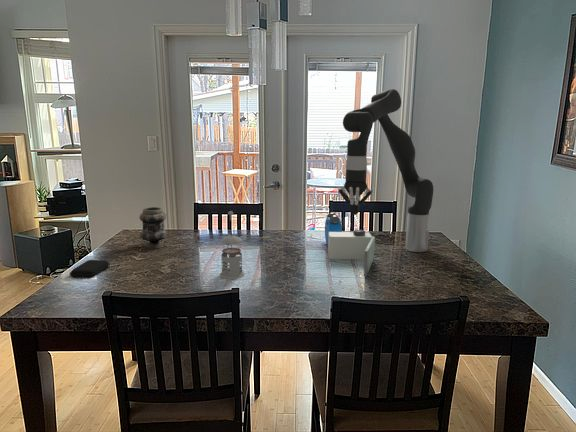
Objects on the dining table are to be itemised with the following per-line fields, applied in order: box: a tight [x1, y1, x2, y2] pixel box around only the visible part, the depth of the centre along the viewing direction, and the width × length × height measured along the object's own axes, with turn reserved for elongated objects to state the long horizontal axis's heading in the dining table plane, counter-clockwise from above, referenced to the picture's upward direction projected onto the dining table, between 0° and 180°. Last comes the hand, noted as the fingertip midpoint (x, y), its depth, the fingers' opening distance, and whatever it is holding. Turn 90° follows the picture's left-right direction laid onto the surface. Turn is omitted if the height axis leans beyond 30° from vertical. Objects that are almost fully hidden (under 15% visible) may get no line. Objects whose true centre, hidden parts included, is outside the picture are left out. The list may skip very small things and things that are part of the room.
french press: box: [219, 210, 246, 280], centre depth 162 cm, size 10×12×25 cm
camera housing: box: [327, 229, 373, 261], centre depth 185 cm, size 18×8×12 cm, turn 88°
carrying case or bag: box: [69, 259, 111, 279], centre depth 166 cm, size 11×3×15 cm
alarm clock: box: [324, 211, 343, 246], centre depth 202 cm, size 13×6×15 cm, turn 5°
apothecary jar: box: [139, 206, 168, 250], centre depth 198 cm, size 12×12×18 cm
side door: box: [363, 235, 376, 277], centre depth 170 cm, size 22×1×10 cm, turn 162°
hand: (354, 214), depth 159 cm, fingers closed
